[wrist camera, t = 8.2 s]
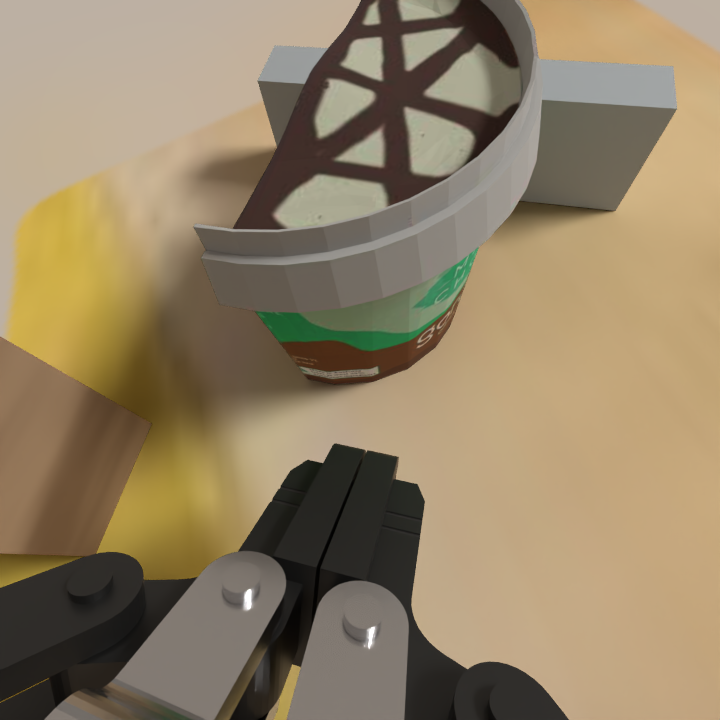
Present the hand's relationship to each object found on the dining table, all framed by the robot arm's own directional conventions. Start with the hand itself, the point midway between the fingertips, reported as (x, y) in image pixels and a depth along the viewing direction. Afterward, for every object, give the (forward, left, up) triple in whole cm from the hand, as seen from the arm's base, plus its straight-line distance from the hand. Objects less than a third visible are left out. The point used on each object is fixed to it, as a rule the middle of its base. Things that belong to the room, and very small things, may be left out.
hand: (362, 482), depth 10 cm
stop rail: (0, -16, -6) cm, 17 cm away
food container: (0, -9, -6) cm, 11 cm away
